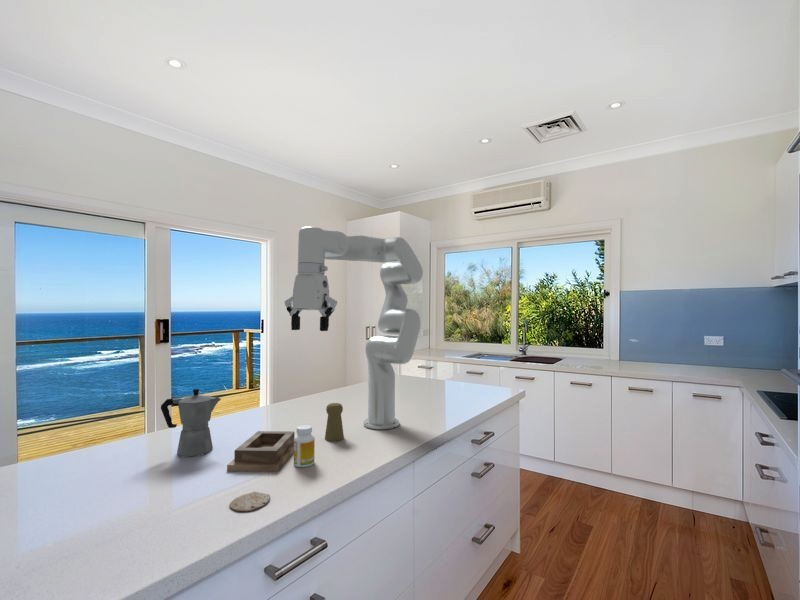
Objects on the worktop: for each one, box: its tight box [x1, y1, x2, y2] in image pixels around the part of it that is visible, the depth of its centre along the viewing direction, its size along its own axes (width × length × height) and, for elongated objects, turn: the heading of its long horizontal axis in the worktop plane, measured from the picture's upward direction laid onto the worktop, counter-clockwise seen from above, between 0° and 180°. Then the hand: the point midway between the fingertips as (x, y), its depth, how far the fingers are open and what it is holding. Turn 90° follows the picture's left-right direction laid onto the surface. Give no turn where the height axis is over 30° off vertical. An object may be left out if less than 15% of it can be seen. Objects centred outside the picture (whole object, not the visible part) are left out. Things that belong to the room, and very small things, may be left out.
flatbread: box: [229, 491, 271, 512], centre depth 84 cm, size 8×8×1 cm
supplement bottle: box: [293, 424, 316, 468], centre depth 106 cm, size 5×5×10 cm
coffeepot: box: [160, 388, 222, 458], centre depth 114 cm, size 15×9×18 cm, turn 110°
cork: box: [324, 402, 345, 442], centre depth 126 cm, size 6×6×11 cm
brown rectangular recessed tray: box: [226, 430, 295, 473], centre depth 111 cm, size 20×13×4 cm, turn 179°
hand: (309, 330), depth 113 cm, fingers open, 9 cm apart
